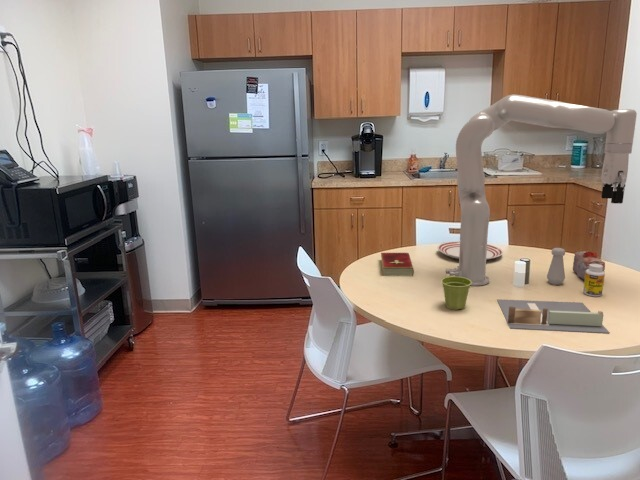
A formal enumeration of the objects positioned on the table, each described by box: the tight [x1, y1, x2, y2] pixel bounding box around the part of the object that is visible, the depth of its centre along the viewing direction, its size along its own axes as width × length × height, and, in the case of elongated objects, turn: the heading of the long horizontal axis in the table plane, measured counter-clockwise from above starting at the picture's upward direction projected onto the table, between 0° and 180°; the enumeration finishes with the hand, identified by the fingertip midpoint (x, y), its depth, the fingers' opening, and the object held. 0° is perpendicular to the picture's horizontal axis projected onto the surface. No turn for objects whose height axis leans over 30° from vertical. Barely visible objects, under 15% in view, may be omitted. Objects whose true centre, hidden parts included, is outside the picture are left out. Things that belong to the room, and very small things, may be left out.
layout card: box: [496, 298, 610, 334], centre depth 143 cm, size 26×22×1 cm
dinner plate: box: [437, 240, 504, 261], centre depth 206 cm, size 27×27×3 cm
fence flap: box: [548, 310, 604, 326], centre depth 135 cm, size 14×1×4 cm, turn 79°
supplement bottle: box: [582, 264, 606, 298], centre depth 157 cm, size 6×6×10 cm
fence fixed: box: [508, 307, 548, 324], centre depth 137 cm, size 10×2×5 cm, turn 79°
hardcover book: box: [380, 252, 415, 277], centre depth 192 cm, size 12×21×4 cm, turn 174°
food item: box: [572, 250, 606, 281], centre depth 173 cm, size 14×8×10 cm, turn 172°
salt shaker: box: [546, 247, 566, 286], centre depth 168 cm, size 6×6×13 cm
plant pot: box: [440, 275, 472, 311], centre depth 151 cm, size 9×9×9 cm
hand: (611, 200), depth 157 cm, fingers open, 9 cm apart
